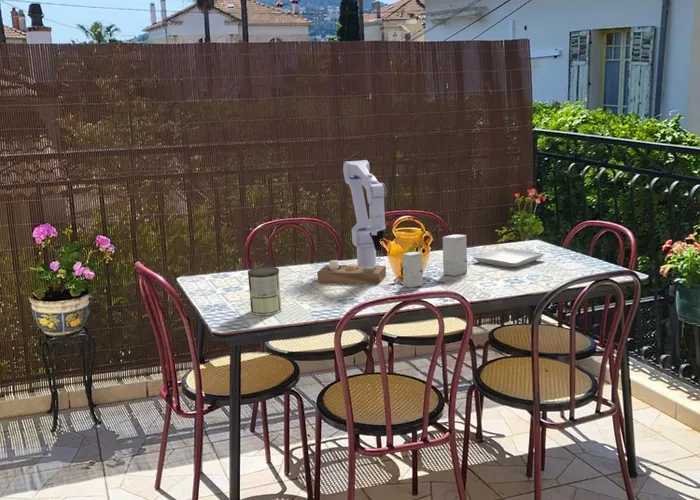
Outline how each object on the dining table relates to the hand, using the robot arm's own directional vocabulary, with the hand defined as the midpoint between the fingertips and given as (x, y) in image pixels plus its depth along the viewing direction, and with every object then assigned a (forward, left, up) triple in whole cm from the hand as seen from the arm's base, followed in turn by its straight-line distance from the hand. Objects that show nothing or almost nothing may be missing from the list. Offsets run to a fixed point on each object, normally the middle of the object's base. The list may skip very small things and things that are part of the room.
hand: (378, 250), depth 277 cm
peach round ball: (+5, -10, -10) cm, 14 cm away
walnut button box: (+5, -10, -10) cm, 15 cm away
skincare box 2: (-7, +28, -11) cm, 31 cm away
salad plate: (-28, +47, -11) cm, 56 cm away
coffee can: (+49, -28, -11) cm, 57 cm away
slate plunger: (+5, -2, -10) cm, 12 cm away
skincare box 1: (+12, +15, -11) cm, 22 cm away
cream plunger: (+5, -16, -8) cm, 19 cm away
